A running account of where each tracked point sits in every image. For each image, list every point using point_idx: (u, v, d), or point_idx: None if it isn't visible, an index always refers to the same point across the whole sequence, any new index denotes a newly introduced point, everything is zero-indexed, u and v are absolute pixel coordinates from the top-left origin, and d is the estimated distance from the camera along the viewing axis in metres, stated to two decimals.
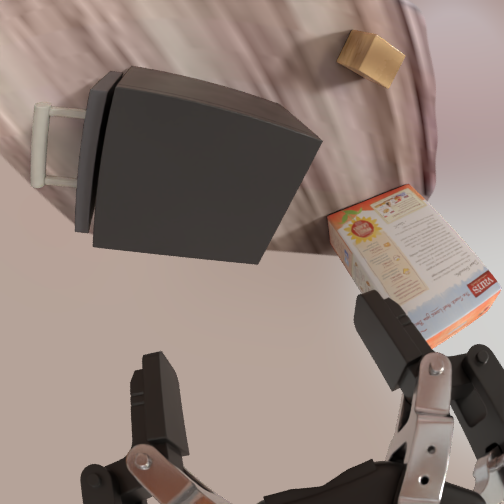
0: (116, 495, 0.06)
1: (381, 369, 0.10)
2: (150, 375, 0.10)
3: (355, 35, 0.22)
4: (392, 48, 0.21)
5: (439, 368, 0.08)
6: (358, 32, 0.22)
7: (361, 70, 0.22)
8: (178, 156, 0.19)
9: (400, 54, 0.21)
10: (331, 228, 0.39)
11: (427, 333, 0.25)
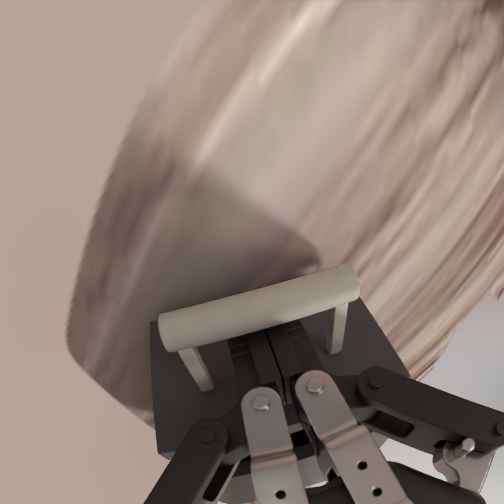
0: (219, 460, 0.07)
1: None
2: None
3: None
4: None
5: (316, 388, 0.08)
6: None
7: None
8: None
9: None
10: None
11: None
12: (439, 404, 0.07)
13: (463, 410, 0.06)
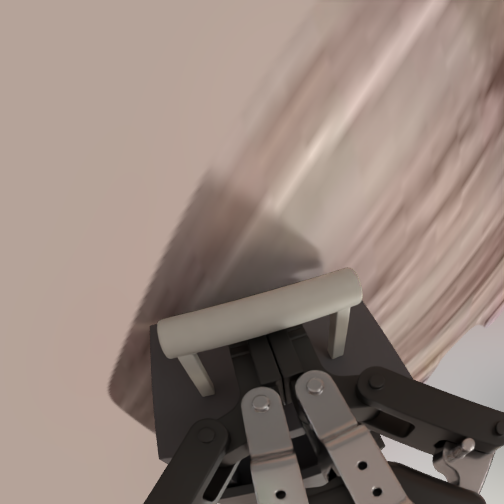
0: (219, 460, 0.07)
1: None
2: None
3: None
4: None
5: (317, 388, 0.08)
6: None
7: None
8: None
9: None
10: None
11: None
12: (439, 404, 0.07)
13: (463, 410, 0.06)
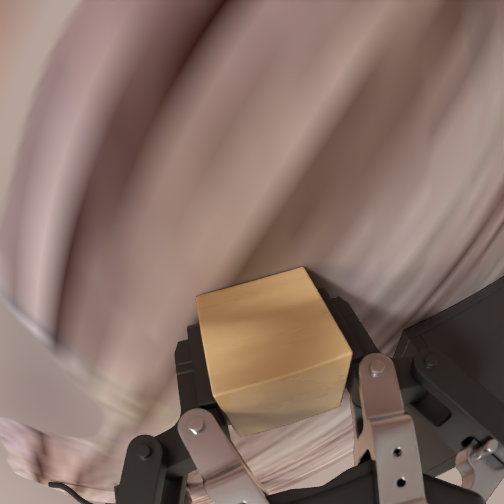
0: (162, 471, 0.07)
1: None
2: (197, 343, 0.10)
3: None
4: (233, 416, 0.09)
5: (379, 370, 0.08)
6: None
7: (338, 404, 0.10)
8: None
9: (226, 403, 0.08)
10: None
11: None
12: (477, 398, 0.07)
13: (497, 411, 0.06)
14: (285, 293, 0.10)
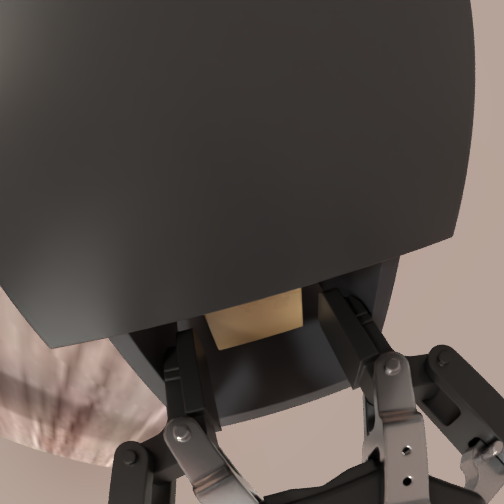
0: (149, 476, 0.07)
1: (342, 367, 0.11)
2: (185, 350, 0.10)
3: None
4: (211, 317, 0.12)
5: (395, 368, 0.08)
6: None
7: (300, 323, 0.14)
8: (87, 120, 0.04)
9: None
10: None
11: None
12: (487, 399, 0.06)
13: None
14: None
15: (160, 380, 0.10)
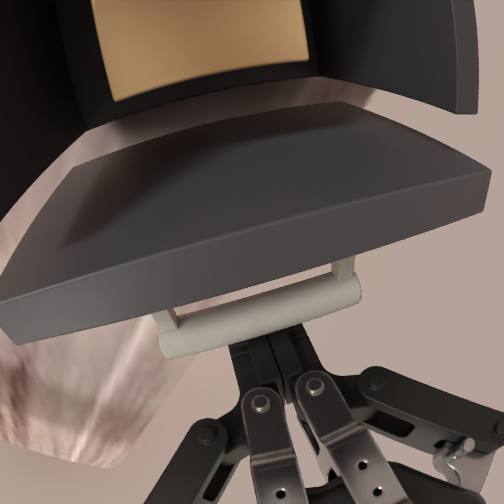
0: (219, 460, 0.07)
1: None
2: None
3: None
4: None
5: (317, 388, 0.08)
6: None
7: (303, 47, 0.05)
8: None
9: None
10: None
11: None
12: (439, 404, 0.07)
13: (463, 410, 0.06)
14: None
15: None
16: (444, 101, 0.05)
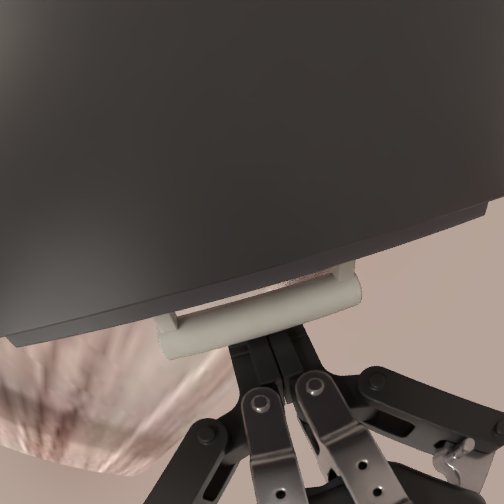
0: (219, 460, 0.07)
1: None
2: None
3: None
4: None
5: (317, 388, 0.08)
6: None
7: None
8: None
9: None
10: None
11: None
12: (439, 404, 0.07)
13: (463, 410, 0.06)
14: None
15: None
16: None
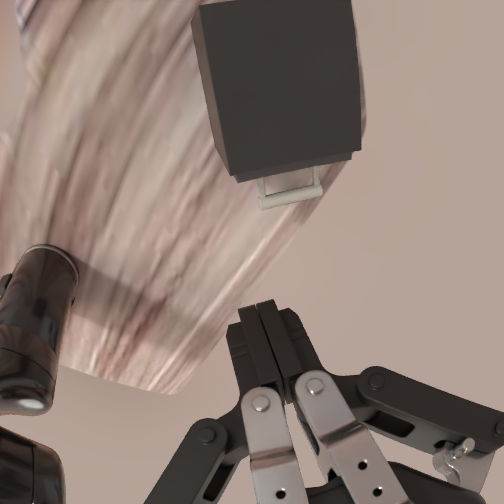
0: (219, 459, 0.07)
1: None
2: (251, 325, 0.11)
3: None
4: None
5: (316, 388, 0.08)
6: None
7: None
8: (266, 109, 0.22)
9: None
10: None
11: None
12: (439, 404, 0.07)
13: (463, 410, 0.06)
14: None
15: None
16: None
